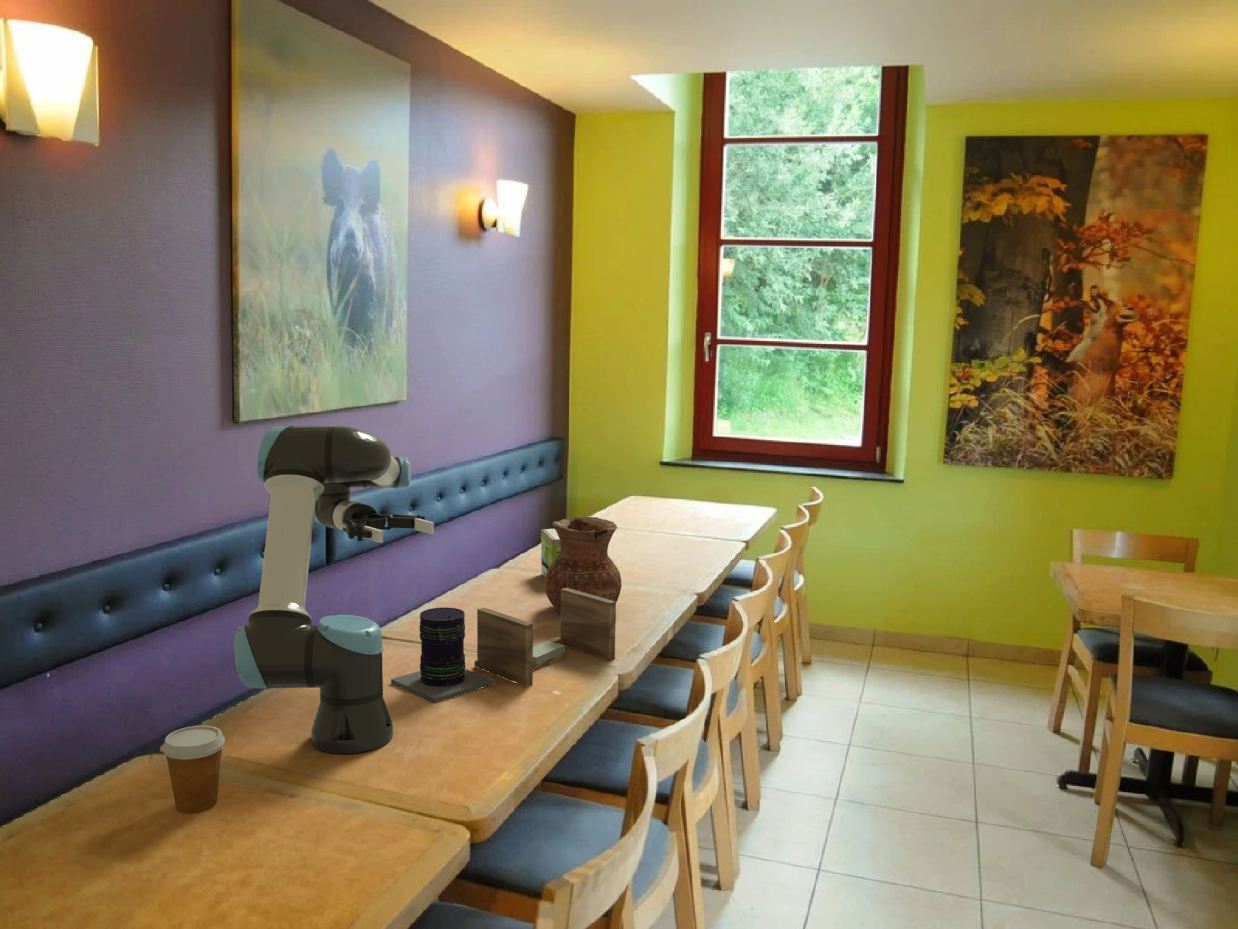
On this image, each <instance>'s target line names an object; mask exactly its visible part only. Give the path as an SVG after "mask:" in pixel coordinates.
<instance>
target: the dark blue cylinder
mask: <svg viewBox="0 0 1238 929" xmlns="http://www.w3.org/2000/svg"><path fill="white" fill-rule="evenodd" d="M465 613H466V612H465V611H464V610H462V609H459V608H455V607H433V608H428V609H425V610H423V611H421V612H420V613H419V620H420V621H419V640H420V641H421V642H420V643H421V645H420V646H421V649H420V650H421V653H420V656H419V658H420V660H419V661H420V663H419V671H421V682H422V683H423V684H424V685H427V686H431V687H450V686H454V685H458V684H460V683H462V682H463V681H464V680H465V675H464V673H465V669H466V654H465V648H464V647H465V646H464V644H465V642H464V640H465V637H466V632H465V631H466V624H465V623H466V622H465V621H466V620H465V617H466V616H465V615H466V614H465Z"/></svg>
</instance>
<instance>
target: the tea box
mask: <svg viewBox="0 0 1238 929" xmlns="http://www.w3.org/2000/svg"><path fill="white" fill-rule="evenodd" d="M540 530H541V531H540V532H541V533H540V538H541V539H540V540H541V542H540V544H541V545H540V548H541V549H540V550H541V552H540V553H541V556H540V557H541V558H540V560H541V564H540V566H541V574H542V576H543V577H545V575H546V573H547V570H548V568H549V566H550V565H551V564H552V562H553V561H554V560H555V559H556V558H557V557H558V556H559V555H560V553H561V544H560V539H559V536H558V534H557V532H556V530H555V528H548V529H547V528H544V529H543V528H542V529H540Z"/></svg>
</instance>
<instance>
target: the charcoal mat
mask: <svg viewBox="0 0 1238 929" xmlns="http://www.w3.org/2000/svg"><path fill="white" fill-rule="evenodd" d="M464 675H465V680H464V681H463V682H462V683H460V684H458V685H454V686H450V687H431V686H427V685H424V684H423V683H422V682H421V670H418V671H415V672H412V673H408V674H404V675H401V676H396V677H393V678H390V684H391V685H394V686H396V687H398V688H400V687H401V689H402V688H403V689H402V690H405V691H407V692H409V693H411V694H413V693H414V695H416V696H418V697H420V698H423V699H424V700H427V701H428V702H431V703H434V704H436V703H440V702H442V700H443V701H445V700H444V699H446V700H449V699H452V698H456V697H458V695H459V696H462V695H465V694H468V693H471V691H472V692H475V691H477V690H476V689H478V690H480V689H479V688H481V687H485V688H487V686H488V687H491V686H493V685H492V684H494V685H495V680H494V679H492V678H490V677H487V676H485V675H482V674H480V673H477V672H475V671H473V670H470V669H468V668H465V673H464ZM490 685H491V686H490ZM474 690H475V691H474ZM464 693H465V694H464ZM461 694H462V695H461ZM455 696H456V697H455Z"/></svg>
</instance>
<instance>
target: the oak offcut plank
mask: <svg viewBox="0 0 1238 929" xmlns="http://www.w3.org/2000/svg"><path fill="white" fill-rule="evenodd" d="M565 658H567V653H566V652H565V653H562V654H560V655H558V656H555V657H553V658H551V659H549V660H546V661H544V662H542V663H540V664H537V665H535V664H533V669H534V670H537V669H539V668H542V667H544V665H545V666H547V665H550V664H552V663H551V662H553V663H555V662H558V661H562V660H564V659H565ZM549 663H550V664H549Z"/></svg>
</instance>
